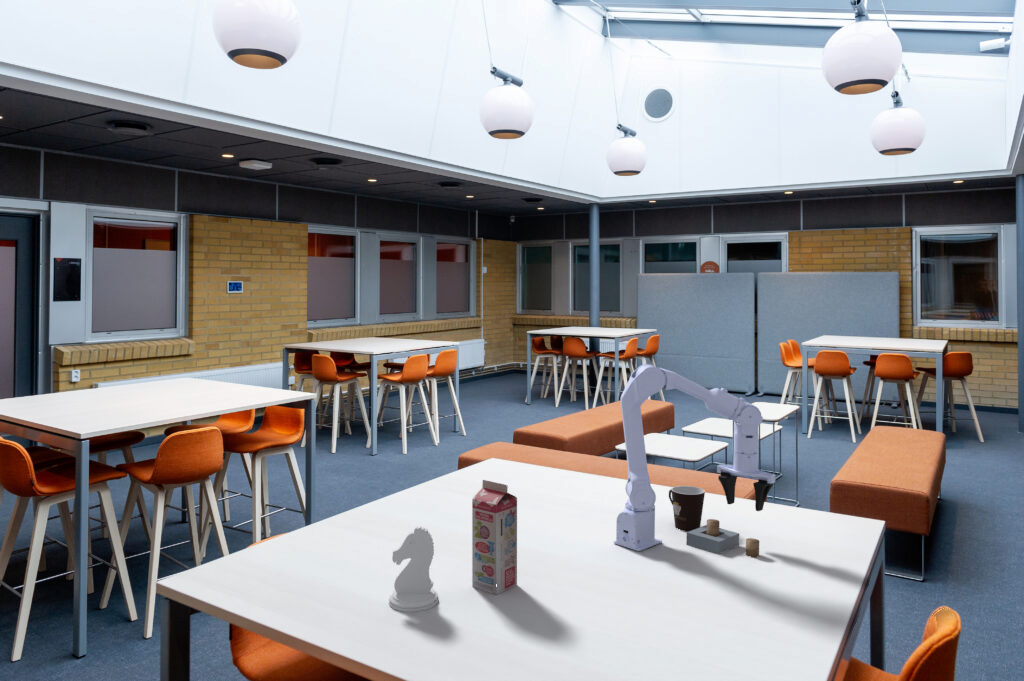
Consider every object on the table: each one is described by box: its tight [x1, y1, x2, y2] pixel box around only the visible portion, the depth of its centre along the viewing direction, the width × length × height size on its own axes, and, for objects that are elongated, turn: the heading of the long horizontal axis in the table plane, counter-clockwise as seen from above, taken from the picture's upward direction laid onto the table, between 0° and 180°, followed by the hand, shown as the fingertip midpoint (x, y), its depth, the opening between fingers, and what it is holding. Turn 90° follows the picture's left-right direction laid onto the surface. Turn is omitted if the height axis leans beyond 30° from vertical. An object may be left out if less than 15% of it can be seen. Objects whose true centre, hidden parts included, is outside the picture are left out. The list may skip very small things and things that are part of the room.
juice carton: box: [471, 479, 518, 596], centre depth 149 cm, size 7×7×22 cm
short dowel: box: [745, 537, 760, 558], centre depth 168 cm, size 3×3×4 cm
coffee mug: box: [668, 485, 706, 532], centre depth 189 cm, size 12×9×10 cm
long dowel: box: [706, 518, 720, 537], centre depth 174 cm, size 3×3×6 cm
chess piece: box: [388, 526, 439, 613], centre depth 141 cm, size 10×10×15 cm
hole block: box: [685, 524, 740, 555], centre depth 174 cm, size 9×9×3 cm
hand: (744, 506), depth 174 cm, fingers open, 7 cm apart
